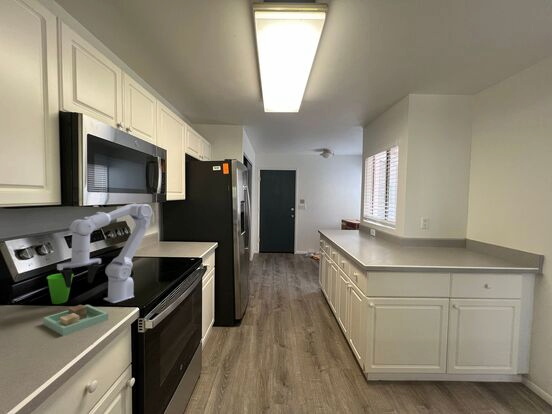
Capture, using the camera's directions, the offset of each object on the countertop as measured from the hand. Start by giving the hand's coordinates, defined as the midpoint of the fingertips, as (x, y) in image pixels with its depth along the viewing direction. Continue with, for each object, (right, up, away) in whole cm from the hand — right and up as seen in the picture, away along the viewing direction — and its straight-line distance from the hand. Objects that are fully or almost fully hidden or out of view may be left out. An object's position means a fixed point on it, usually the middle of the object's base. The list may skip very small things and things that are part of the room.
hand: (79, 284), depth 105 cm
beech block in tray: (+7, -11, -15) cm, 19 cm away
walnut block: (+5, -10, -7) cm, 13 cm away
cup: (-14, -10, +8) cm, 19 cm away
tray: (+6, -11, -10) cm, 16 cm away
